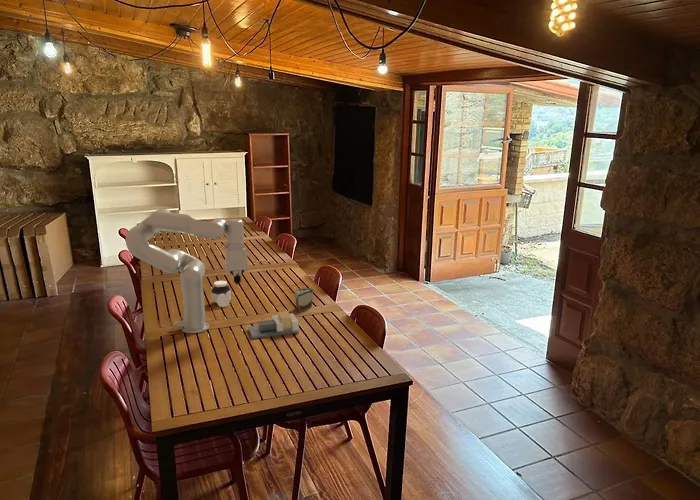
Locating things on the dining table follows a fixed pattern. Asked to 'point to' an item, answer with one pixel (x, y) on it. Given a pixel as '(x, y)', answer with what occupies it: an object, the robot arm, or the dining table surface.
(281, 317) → the brass block
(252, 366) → the dining table surface
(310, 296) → the food container
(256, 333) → the vise
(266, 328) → the vise jaw
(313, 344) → the dining table surface
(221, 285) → the spread jar
